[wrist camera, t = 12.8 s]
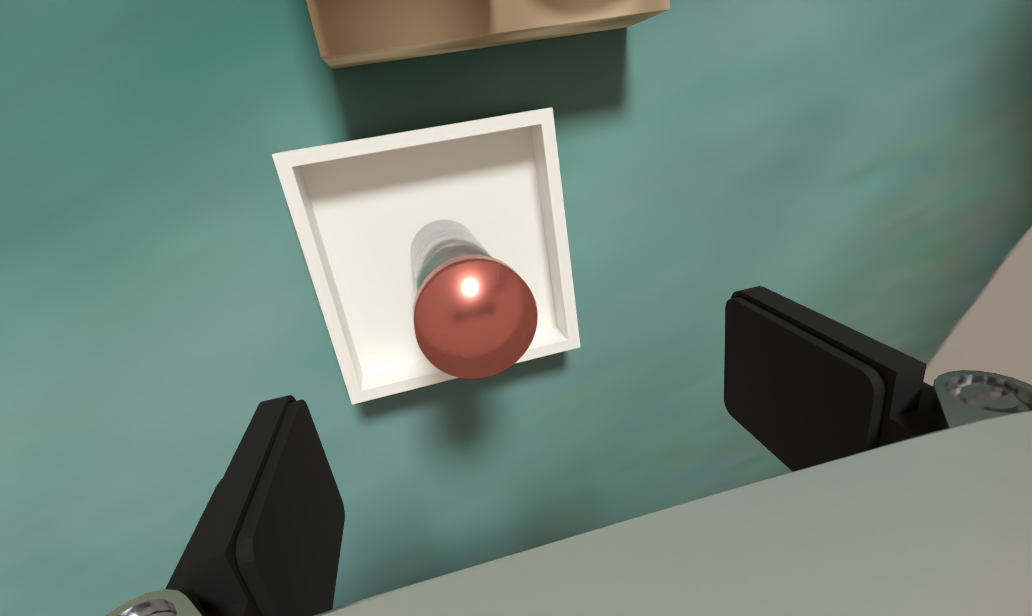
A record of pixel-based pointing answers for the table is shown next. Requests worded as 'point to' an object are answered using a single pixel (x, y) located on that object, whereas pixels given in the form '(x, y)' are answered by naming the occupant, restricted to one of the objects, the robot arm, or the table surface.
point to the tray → (410, 206)
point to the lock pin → (468, 304)
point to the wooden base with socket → (457, 24)
